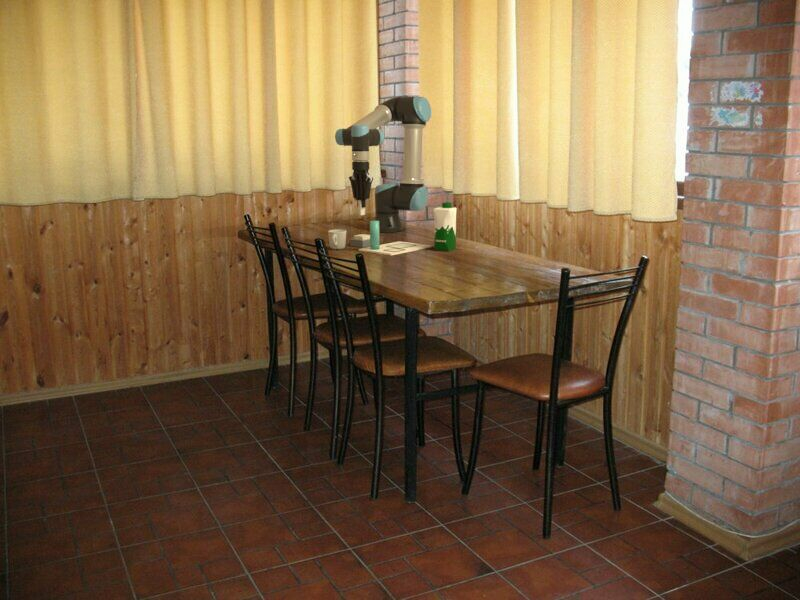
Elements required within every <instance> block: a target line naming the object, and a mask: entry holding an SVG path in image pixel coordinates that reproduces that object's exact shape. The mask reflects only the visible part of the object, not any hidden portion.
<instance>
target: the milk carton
mask: <svg viewBox="0 0 800 600" xmlns="http://www.w3.org/2000/svg"><path fill="white" fill-rule="evenodd" d="M441 204H442V205H441V206H439V207H435V208H432V209H433V217H434V218H433V219H434V221H433V222H434V225H433V227H434V238H433V239H434V243H433V244H434V246H433V247H434V251H439V252H441V251H442V252H452V251H453V250H456V249H457V248H456V247H457V246H456V245H457V210H458V209H457V207H454V206H452V202H449V201H448V202H446V201H445V202H442V203H441Z"/></svg>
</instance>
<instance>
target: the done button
mask: <svg viewBox="0 0 800 600" xmlns="http://www.w3.org/2000/svg"><path fill="white" fill-rule="evenodd" d="M353 238H354V239H356V240H367V239H370V234H363V233H361V234H355V235H353Z"/></svg>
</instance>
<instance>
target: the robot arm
mask: <svg viewBox="0 0 800 600" xmlns="http://www.w3.org/2000/svg"><path fill="white" fill-rule="evenodd" d="M431 117H432V108H431V104H430V102H429V100H428V99H427V98H426V97H424V96H418V95H417V96H416V95H414V96H394V97H392V98H390V99H387V100H385V101H383V102H381V103H379V104H378V105H377V106H375V108H374V109H373V111H371V112H370V113H368V114H367V115H365V116H364V117H362V118H361V119H359V120H357V121H356V122H355V123H353V124H351V125H350V126H349V127H347V128H339V129H337V130H336V131H335V135H334V139H335V142H336V144H337V145H339V146H343V147H351V160H352V163H351V167H352V168H351V170H353V172H352V175H351V176H350V175H349V177H348V179H349V181H350V186H351V191H352V197H353V199H356V201H357V202H356V203H357V205H356V206H357V208H358V210H357V212H358V213H357V214H358V216H365V215H366V207H367V202H366V201H367V200H368V199H370V196H371V189H372V184H373V183H372V182H373V180H374V177H373V176H370V173H369V170H370V147H379V146H381V145H382V144H383V143H384V141H385V137H386V136H385V133H384V132H383V130H382V129H379V128H380V127H381V126H382V125H387V124H389V123H391V122H399V123H400V122H401V126H402V127H403V128H404V139H403V168H402V170H403V171H402V175H403V176H402V180H401V181H400V182H393V183H391V182H390V183H385V184H379V185H378V184H377V185H375V188H374V189H375V190H374V202H375V204H374V205H375V207H374V208H375V212H374V214H375V216H374V219H373V221H379V233H397V232H402V231H404V230H403V229H404V228H403V224H402V220H401V217H400V211H410V212H420V211H422V210H424V208H425V207H426V205H427V204H428V201H429V192H428V189H427V187H425V186H424V185H425V183H424V182H423V181H422V179H421V178H422V159H423V158H422V154H423V153H422V152H423V151H422V150H423V129H424V128H425V127H426V126H427V122H429V121H430V120H431Z"/></svg>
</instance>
